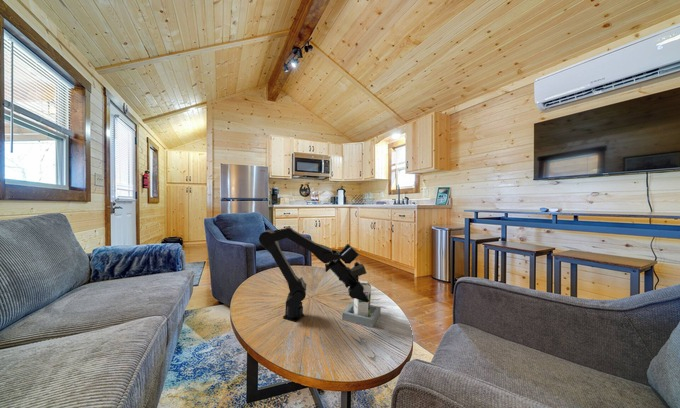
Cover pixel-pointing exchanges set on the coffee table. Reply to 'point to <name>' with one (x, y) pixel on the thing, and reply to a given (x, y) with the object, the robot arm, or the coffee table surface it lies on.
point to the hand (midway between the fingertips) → (366, 297)
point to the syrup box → (361, 306)
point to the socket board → (360, 319)
